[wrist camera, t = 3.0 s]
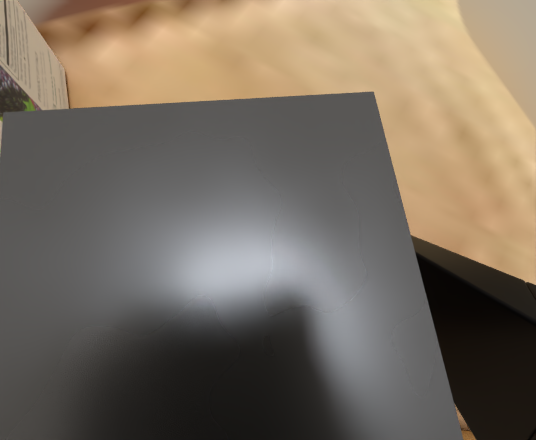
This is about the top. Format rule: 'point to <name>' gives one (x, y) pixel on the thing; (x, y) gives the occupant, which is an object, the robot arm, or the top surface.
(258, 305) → the pin
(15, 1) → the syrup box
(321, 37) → the top surface
